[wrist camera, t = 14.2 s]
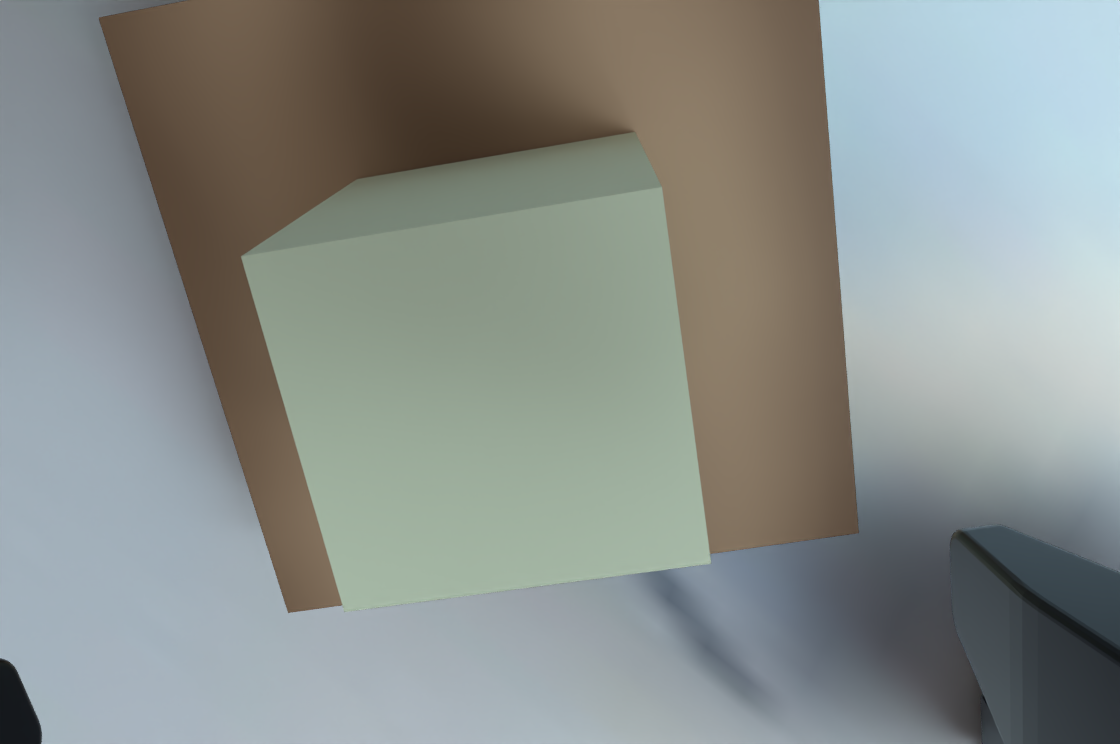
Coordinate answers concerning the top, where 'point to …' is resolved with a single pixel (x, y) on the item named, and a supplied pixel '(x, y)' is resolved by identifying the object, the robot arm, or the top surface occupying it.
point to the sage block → (487, 374)
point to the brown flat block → (500, 128)
